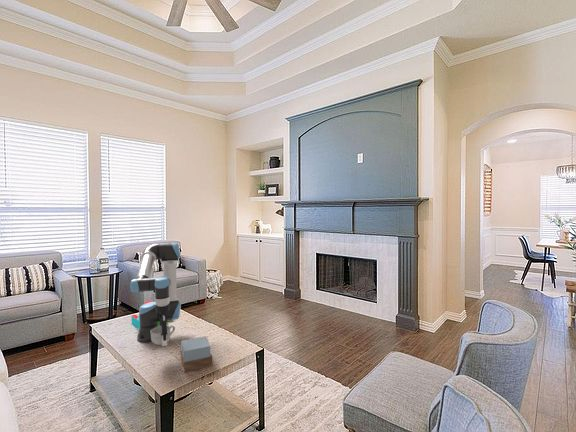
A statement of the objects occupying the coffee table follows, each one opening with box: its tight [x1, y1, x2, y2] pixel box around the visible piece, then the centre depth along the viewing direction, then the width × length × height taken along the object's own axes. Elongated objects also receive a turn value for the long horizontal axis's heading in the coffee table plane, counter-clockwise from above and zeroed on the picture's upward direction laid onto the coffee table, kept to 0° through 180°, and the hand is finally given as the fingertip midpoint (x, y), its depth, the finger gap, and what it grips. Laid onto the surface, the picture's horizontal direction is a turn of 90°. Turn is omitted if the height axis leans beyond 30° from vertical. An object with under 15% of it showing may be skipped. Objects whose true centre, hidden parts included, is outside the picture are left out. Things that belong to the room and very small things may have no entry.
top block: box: [180, 336, 212, 362], centre depth 173 cm, size 14×14×6 cm
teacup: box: [150, 325, 176, 345], centre depth 177 cm, size 14×11×8 cm
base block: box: [180, 350, 213, 374], centre depth 174 cm, size 15×15×6 cm
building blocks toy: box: [131, 300, 172, 330], centre depth 235 cm, size 19×25×18 cm
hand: (163, 341), depth 177 cm, fingers closed on teacup, 11 cm apart
